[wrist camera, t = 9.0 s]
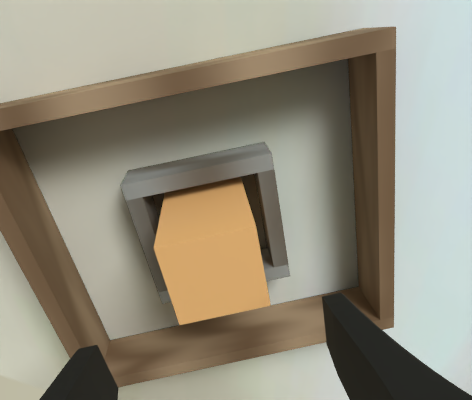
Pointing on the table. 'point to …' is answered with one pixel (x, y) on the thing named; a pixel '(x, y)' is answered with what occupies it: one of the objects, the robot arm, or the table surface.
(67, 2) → the table surface
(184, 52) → the table surface
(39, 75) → the table surface
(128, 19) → the table surface
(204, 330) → the walled box
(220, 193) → the block
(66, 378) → the robot arm
